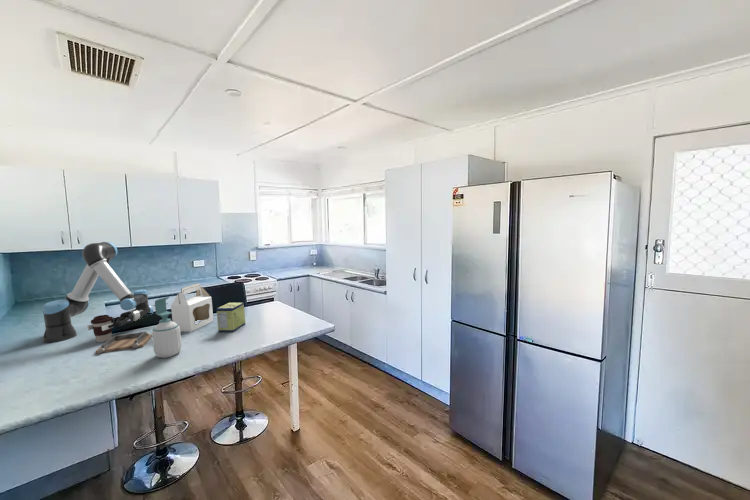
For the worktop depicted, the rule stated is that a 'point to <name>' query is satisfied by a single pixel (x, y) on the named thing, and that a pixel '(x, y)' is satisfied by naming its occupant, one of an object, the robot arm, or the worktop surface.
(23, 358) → the worktop surface
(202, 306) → the gable box
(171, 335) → the soap bottle
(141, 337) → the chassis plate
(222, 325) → the protein box
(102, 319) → the coffee cup
